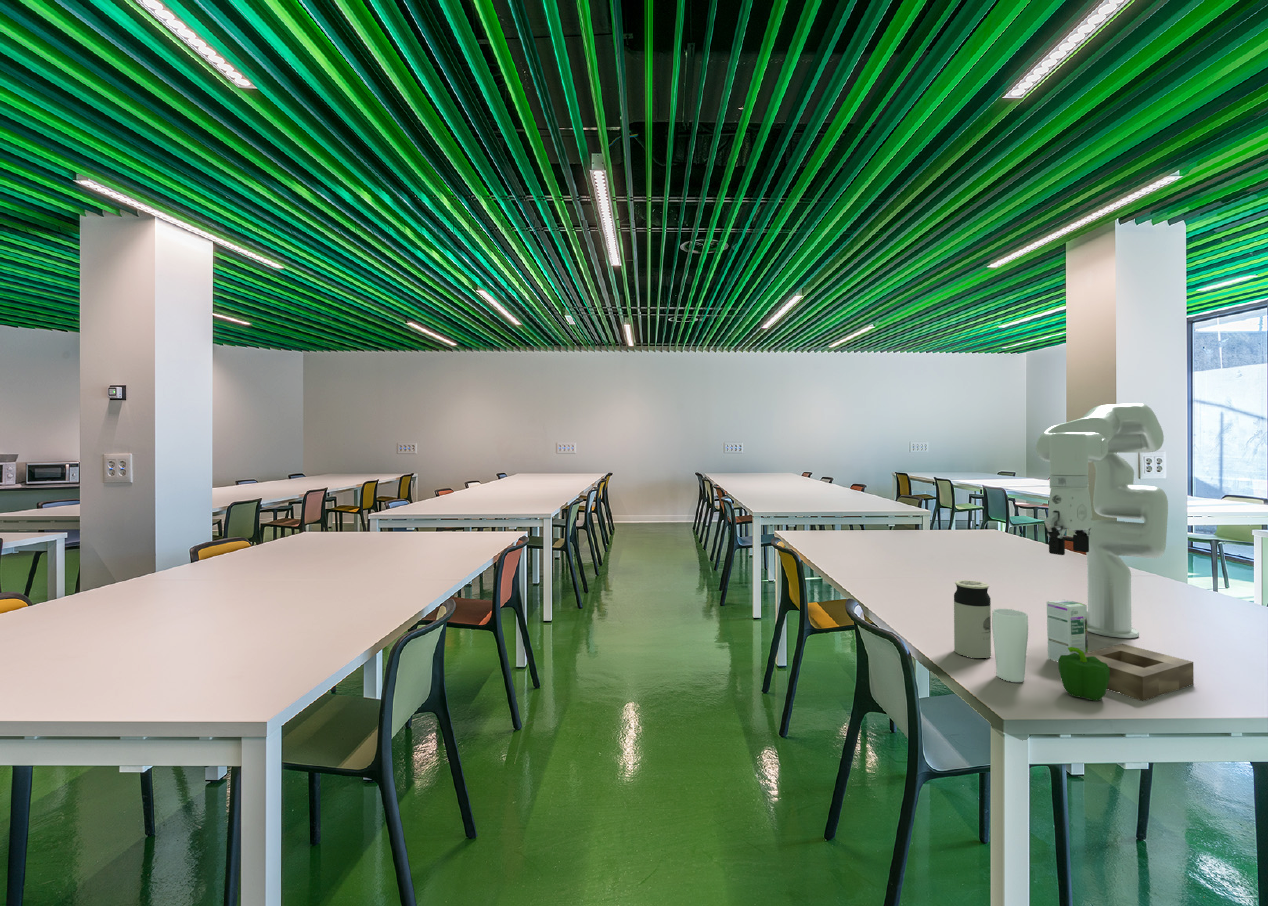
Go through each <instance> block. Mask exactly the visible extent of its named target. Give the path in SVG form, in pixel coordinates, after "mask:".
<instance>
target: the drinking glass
mask: <svg viewBox="0 0 1268 906" xmlns="http://www.w3.org/2000/svg"><path fill="white" fill-rule="evenodd" d="M991 613H992V614H991V615H992V617H991V620H992V621H991V623H992V624H991V630H992V638H993V649H994V656H995V665H996V666H995V668H996V669H995V671H996V676H997V678H999V679H1000V678H1001V680H1002V679H1003V680H1002V681H1005V680H1006V682H1009V681H1011V682H1010V683H1022V682H1024V681H1025V679H1026V662H1027V660H1026V659H1027V649H1028V642H1029V641H1028V639H1029V618H1028V617H1029V616H1028V614H1027V613H1026V612H1023V611H1020V610H1016V609H1013V608H1012V609H1011V608H995V609H993V610H992V612H991Z"/></svg>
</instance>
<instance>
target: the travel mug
mask: <svg viewBox="0 0 1268 906" xmlns="http://www.w3.org/2000/svg"><path fill="white" fill-rule="evenodd" d="M954 584H955V585H956V590H955V592H954V594H953V626H954V627H953V628H954V629H953V632H954V633H953V634H954V635H953V636H954V638H953V640H954V641H953V642H954V643H953V645H954V646H953V647H954V648H953V650H954V652H955V653H957V654H958V655H959V656H961V655H963V656H962V657H964V656H968V657H972V658H971V659H974V658H986V659H989V658H991V657H990V656H992V641H991V640H992V634H991V632H992V624H991V623H992V621H991V620H992V617H991V615H992V614H991V613H992V612H991V611H992V610H991V608H992V607H991V596H990V595H989V593H988V589H989V588H990V584H988V583H986V582H983V581H977V580H968V579H966V580H965V579H964V580H963V579H962V580H956V581H954ZM968 657H967V658H968Z"/></svg>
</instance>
